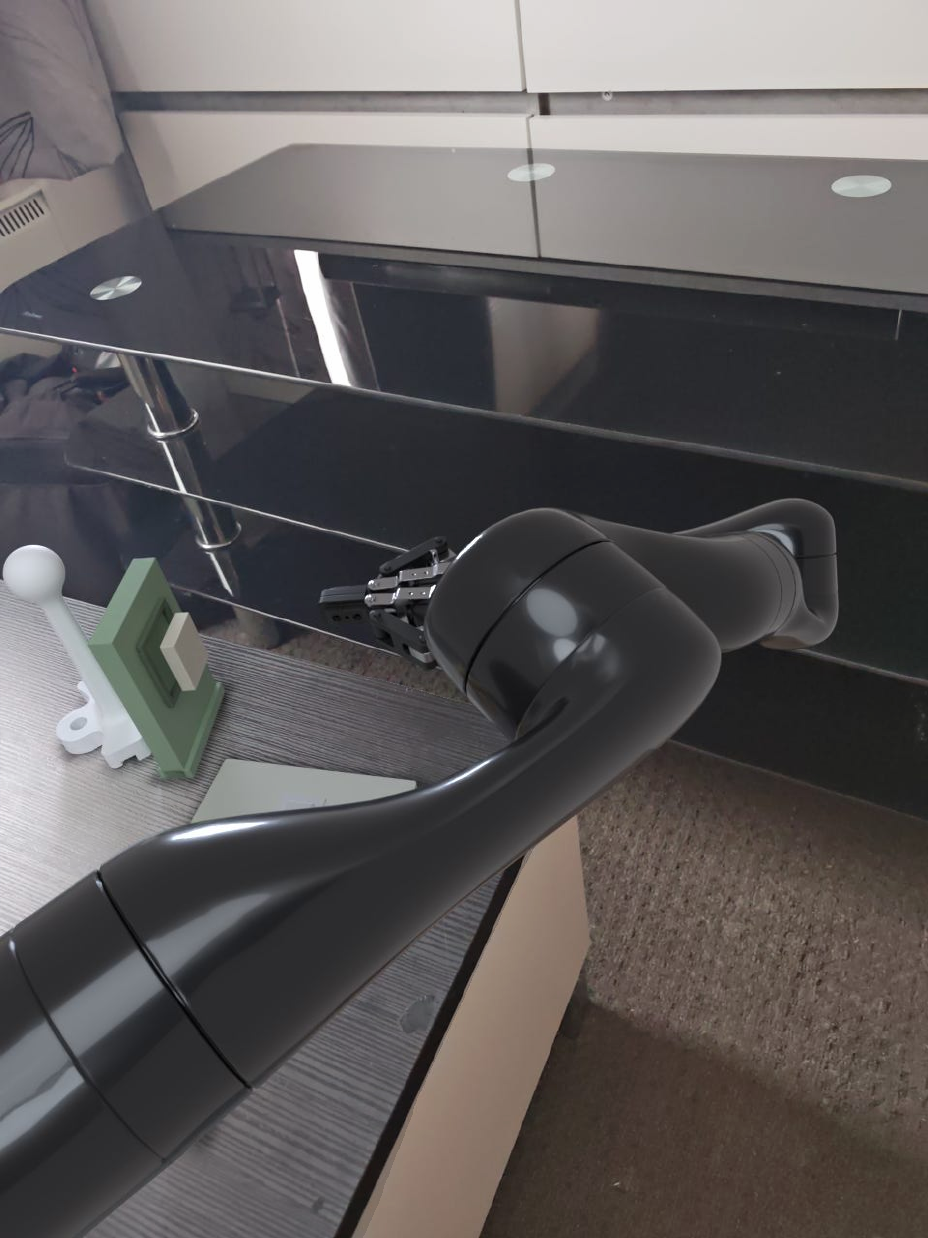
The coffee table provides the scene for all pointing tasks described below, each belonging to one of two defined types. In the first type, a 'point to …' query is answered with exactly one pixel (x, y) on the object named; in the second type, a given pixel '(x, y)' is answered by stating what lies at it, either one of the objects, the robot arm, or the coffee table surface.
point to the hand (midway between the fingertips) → (321, 607)
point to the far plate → (154, 671)
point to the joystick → (75, 661)
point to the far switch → (184, 651)
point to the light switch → (288, 789)
